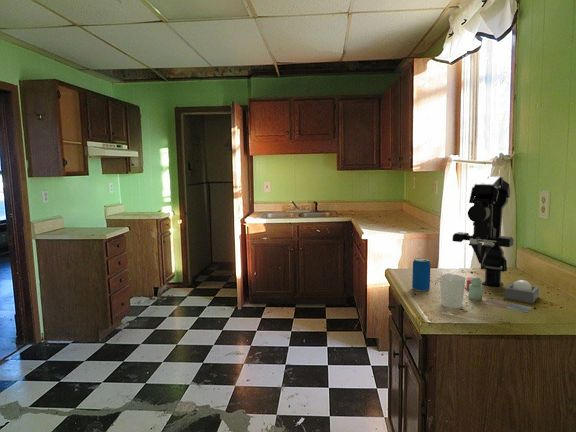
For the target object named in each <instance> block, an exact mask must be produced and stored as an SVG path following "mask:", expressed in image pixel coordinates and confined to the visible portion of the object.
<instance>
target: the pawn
mask: <svg viewBox="0 0 576 432" xmlns="http://www.w3.org/2000/svg"><path fill="white" fill-rule="evenodd" d="M471 278H472V279H471V284H469V290H468V296H469V299H470V300H472V301H482V298H483V293H484V292H483V289H484V287H483V284H482V283H483V282H482V279H481V278H480V277H479V276H473V277H471ZM472 301H471V302H472Z"/></svg>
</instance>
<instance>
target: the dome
mask: <svg viewBox="0 0 576 432" xmlns="http://www.w3.org/2000/svg"><path fill="white" fill-rule="evenodd" d="M513 283H514V284H513V289H519V290H524V291H530V292H531V291H532V287H531V286H532V284H531V283H530V282H528V281H527V280H525V279H518V280H516V281H514V282H513Z"/></svg>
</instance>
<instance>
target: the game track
mask: <svg viewBox="0 0 576 432" xmlns="http://www.w3.org/2000/svg"><path fill="white" fill-rule="evenodd" d="M463 301H468V302H473V303H478V304H484V305H488V306H493V307H497V308H503V309H505V308H506V309H507V310H513V311H518V312H522V313H529V312H530V311H531V310H532V309H533V307H532V306H527V305H522V304H516V303H511V302H506V301H501V300H496V299H491V298H489V299H488V298H486V297H482V301H472V300H470V299H469V295H467V296H466V297H465V298H464V297H463Z"/></svg>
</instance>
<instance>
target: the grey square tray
mask: <svg viewBox="0 0 576 432" xmlns="http://www.w3.org/2000/svg"><path fill="white" fill-rule="evenodd" d="M514 283H515V282H510V283H509V284H508V285H507V286H505V287H504V299H508V300H512V301H517V302H518V301H519V302H525V303H529V304H534V303H535V302H536V300H537V299H538V298H539V297H540V295H539V294H540V292H539V291H540V287H539V286H535V285H531V287H532V291H531V292H530V291H524V290H519V289H513V284H514Z"/></svg>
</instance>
